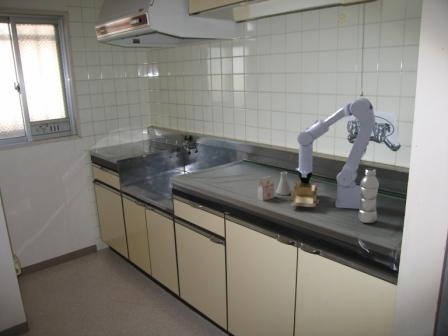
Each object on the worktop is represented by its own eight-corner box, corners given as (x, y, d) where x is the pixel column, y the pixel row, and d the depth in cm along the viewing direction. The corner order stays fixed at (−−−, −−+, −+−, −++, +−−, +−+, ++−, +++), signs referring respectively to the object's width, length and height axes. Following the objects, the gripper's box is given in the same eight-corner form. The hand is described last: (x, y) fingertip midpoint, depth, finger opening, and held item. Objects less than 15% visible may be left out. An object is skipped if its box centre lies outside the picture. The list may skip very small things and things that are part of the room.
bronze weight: (311, 191, 164) (312, 182, 163) (311, 196, 159) (311, 187, 157) (297, 190, 166) (297, 182, 165) (296, 195, 160) (296, 186, 159)
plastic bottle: (357, 224, 139) (360, 171, 134) (358, 217, 145) (361, 166, 140) (376, 226, 136) (380, 172, 132) (376, 219, 142) (380, 167, 138)
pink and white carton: (257, 199, 170) (257, 177, 167) (268, 195, 173) (268, 174, 171) (262, 201, 167) (262, 179, 164) (274, 197, 170) (274, 176, 168)
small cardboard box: (317, 188, 172) (317, 182, 171) (315, 207, 152) (315, 200, 151) (294, 187, 174) (294, 181, 174) (289, 205, 154) (289, 199, 153)
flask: (281, 189, 181) (281, 169, 179) (294, 192, 177) (294, 171, 175) (273, 193, 176) (273, 173, 174) (286, 196, 172) (286, 175, 169)
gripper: (297, 155, 170) (297, 183, 174) (294, 162, 157) (294, 193, 160) (313, 155, 169) (312, 184, 172) (312, 163, 155) (311, 194, 158)
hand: (304, 189), depth 166 cm, fingers closed
